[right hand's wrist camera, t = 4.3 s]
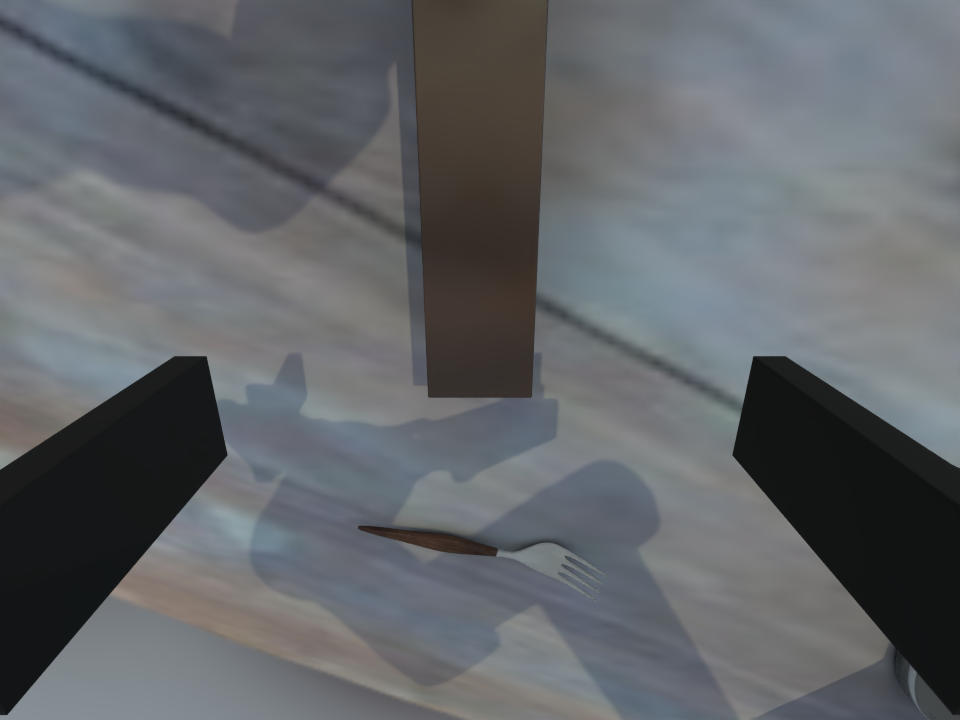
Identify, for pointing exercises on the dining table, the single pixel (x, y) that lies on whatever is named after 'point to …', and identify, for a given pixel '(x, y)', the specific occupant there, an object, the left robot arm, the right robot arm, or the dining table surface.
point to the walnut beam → (479, 189)
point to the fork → (498, 553)
